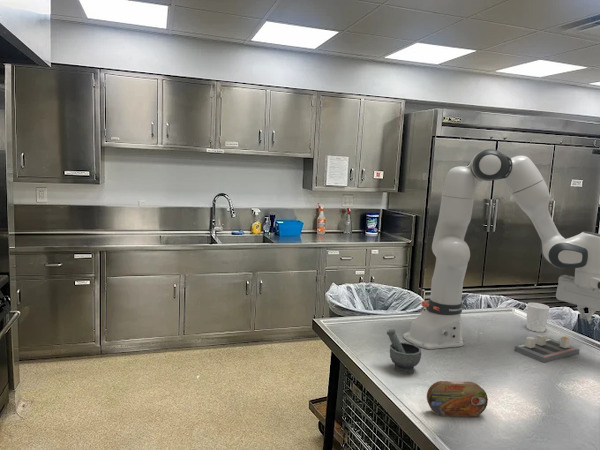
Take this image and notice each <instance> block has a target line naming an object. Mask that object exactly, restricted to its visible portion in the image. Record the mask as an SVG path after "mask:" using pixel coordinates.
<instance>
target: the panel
mask: <svg viewBox="0 0 600 450" xmlns="http://www.w3.org/2000/svg"><path fill="white" fill-rule="evenodd" d="M525 344H526V343H523V344H519V345H515V346H514V351H515V352H518V353H520V354H522V355H524V356H527V357H529V358H531V359H534V360H537V361H539V362H541V363H548V362H552V361H556V360H560V359H563V358H567V357H571V356H574V355H578V354H579V353H580V348H578V347H575V346H572V345H570V347H569V348H563V347H560V340H559V341H558V340H555V339H552V338H546V345H542V346H540V345H538V344H536V342H535V347H534V348H528V347H526V346H525Z"/></svg>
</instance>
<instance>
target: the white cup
mask: <svg viewBox="0 0 600 450" xmlns="http://www.w3.org/2000/svg"><path fill="white" fill-rule="evenodd" d="M526 304H527V305H526V308H527V310H526V325H525V326H526V329H527V330H529V331H532V332H537V333H544V332H545V331H546V328H547V322H548V317H549V311H550V306H549V305H546V304H543V303H538V302H528V303H526Z"/></svg>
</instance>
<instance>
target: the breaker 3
mask: <svg viewBox="0 0 600 450" xmlns="http://www.w3.org/2000/svg"><path fill="white" fill-rule="evenodd" d="M559 342H560V347H563V348H569V347H570V346H571V338H570V337H568V336H561V337H560V340H559Z"/></svg>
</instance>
